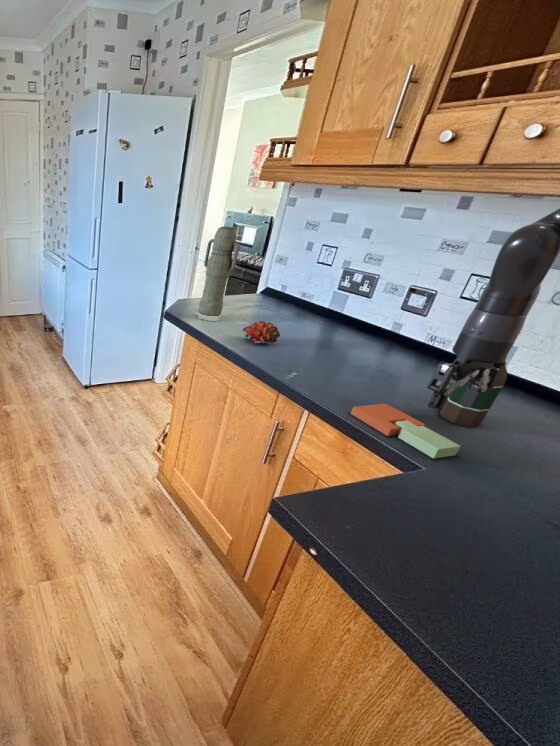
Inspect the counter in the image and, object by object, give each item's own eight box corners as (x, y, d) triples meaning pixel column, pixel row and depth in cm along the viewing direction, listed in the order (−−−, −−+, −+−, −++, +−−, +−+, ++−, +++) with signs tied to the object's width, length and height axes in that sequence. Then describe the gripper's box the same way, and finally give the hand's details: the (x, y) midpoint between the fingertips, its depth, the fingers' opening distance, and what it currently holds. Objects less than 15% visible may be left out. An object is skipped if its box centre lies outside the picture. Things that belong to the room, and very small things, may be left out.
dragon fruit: (277, 352, 142) (240, 348, 149) (284, 333, 145) (247, 330, 152) (276, 337, 136) (238, 333, 143) (283, 317, 138) (245, 314, 146)
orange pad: (382, 410, 105) (386, 403, 104) (422, 431, 96) (426, 424, 95) (350, 413, 103) (353, 406, 102) (387, 436, 94) (391, 428, 93)
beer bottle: (483, 421, 101) (539, 328, 90) (474, 431, 97) (531, 335, 86) (443, 408, 106) (491, 318, 95) (433, 416, 102) (482, 324, 92)
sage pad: (407, 428, 97) (411, 419, 96) (455, 455, 88) (461, 446, 87) (386, 431, 96) (391, 421, 95) (433, 458, 87) (438, 449, 86)
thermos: (219, 323, 163) (240, 230, 147) (190, 317, 169) (207, 226, 153) (226, 318, 169) (247, 228, 153) (198, 312, 175) (215, 225, 159)
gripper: (481, 343, 74) (441, 420, 81) (540, 338, 77) (496, 413, 84) (438, 329, 81) (405, 401, 88) (494, 325, 83) (457, 395, 91)
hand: (450, 407), depth 86 cm, fingers open, 8 cm apart
